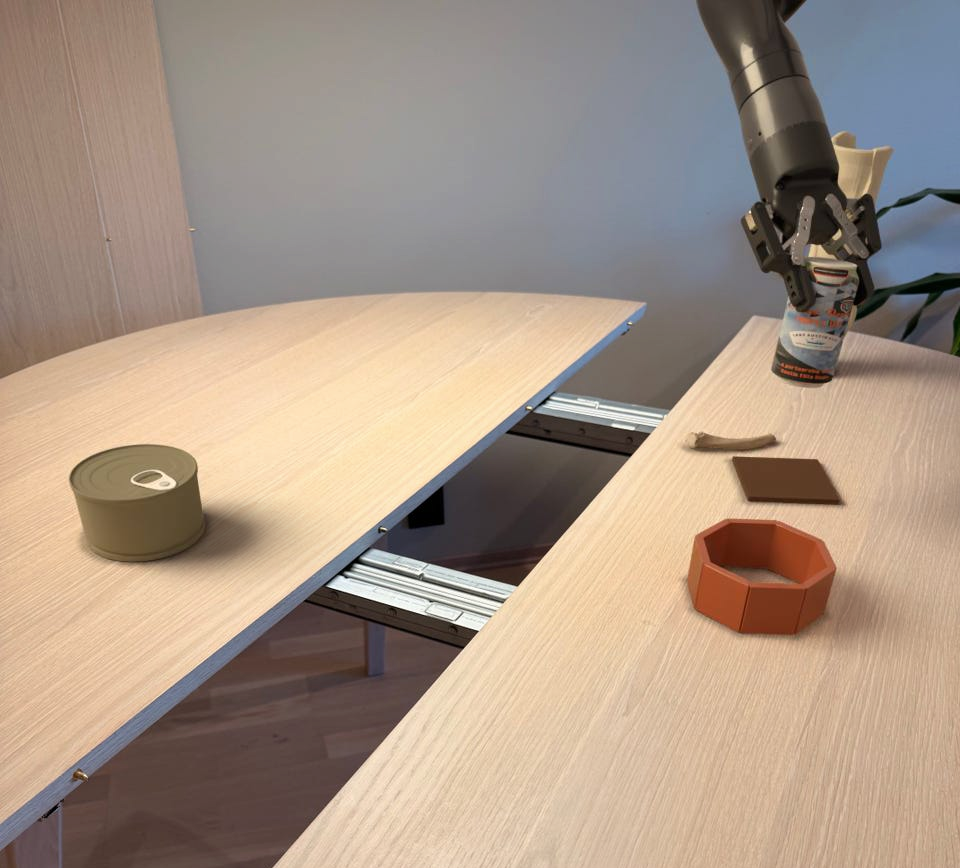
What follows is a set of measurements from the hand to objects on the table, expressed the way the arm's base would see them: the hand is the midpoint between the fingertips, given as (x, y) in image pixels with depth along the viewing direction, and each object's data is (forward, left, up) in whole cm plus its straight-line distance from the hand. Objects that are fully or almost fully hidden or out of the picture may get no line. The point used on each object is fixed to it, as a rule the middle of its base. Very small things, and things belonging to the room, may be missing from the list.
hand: (835, 304), depth 93 cm
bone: (+3, -15, -22) cm, 27 cm away
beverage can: (+1, -2, -8) cm, 9 cm away
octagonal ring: (+7, +17, -22) cm, 29 cm away
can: (+67, +9, -22) cm, 71 cm away
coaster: (-1, -7, -22) cm, 23 cm away
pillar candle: (-13, -43, -22) cm, 50 cm away
